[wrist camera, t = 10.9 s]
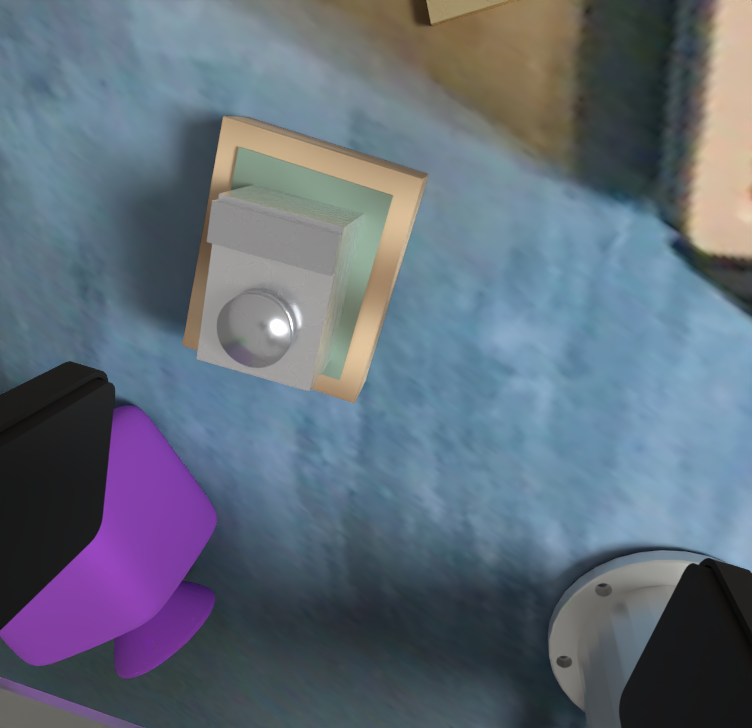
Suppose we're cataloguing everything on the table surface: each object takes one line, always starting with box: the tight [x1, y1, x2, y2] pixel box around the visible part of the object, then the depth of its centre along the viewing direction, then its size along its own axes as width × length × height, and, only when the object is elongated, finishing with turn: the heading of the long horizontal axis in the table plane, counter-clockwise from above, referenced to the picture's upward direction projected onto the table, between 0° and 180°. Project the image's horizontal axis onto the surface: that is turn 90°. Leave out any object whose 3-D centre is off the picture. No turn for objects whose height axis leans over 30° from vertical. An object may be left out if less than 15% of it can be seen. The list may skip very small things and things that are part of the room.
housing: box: [197, 184, 364, 391], centre depth 27 cm, size 7×5×5 cm
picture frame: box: [182, 116, 429, 403], centre depth 31 cm, size 11×9×3 cm
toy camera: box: [0, 405, 217, 679], centre depth 35 cm, size 11×14×10 cm
